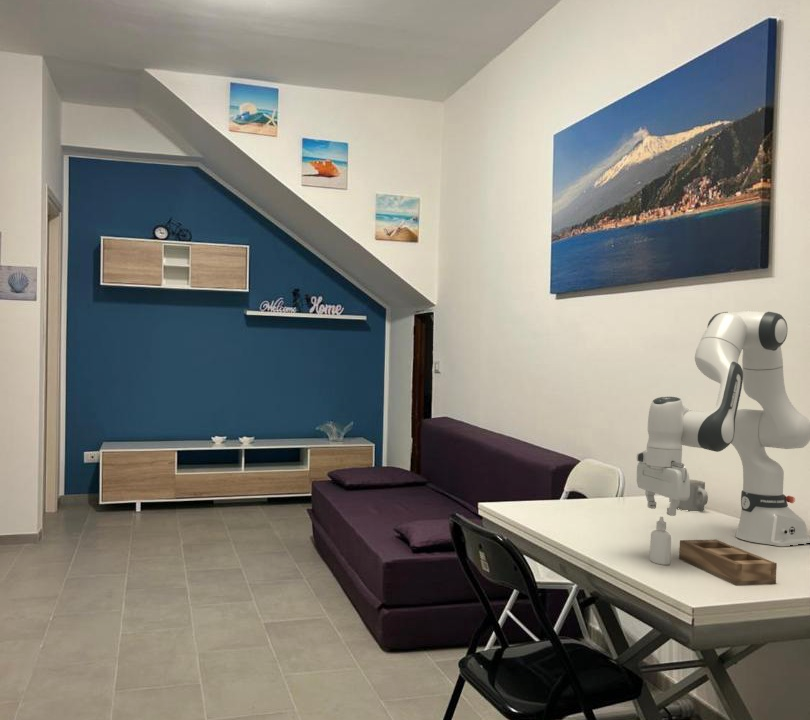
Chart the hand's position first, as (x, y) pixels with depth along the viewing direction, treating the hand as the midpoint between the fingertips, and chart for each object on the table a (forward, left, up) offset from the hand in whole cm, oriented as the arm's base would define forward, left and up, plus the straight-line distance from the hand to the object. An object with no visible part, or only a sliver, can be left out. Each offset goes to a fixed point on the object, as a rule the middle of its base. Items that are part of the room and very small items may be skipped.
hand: (661, 511), depth 206 cm
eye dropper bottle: (0, 0, -14) cm, 14 cm away
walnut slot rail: (-13, +9, -13) cm, 21 cm away
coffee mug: (-52, -66, -14) cm, 85 cm away
